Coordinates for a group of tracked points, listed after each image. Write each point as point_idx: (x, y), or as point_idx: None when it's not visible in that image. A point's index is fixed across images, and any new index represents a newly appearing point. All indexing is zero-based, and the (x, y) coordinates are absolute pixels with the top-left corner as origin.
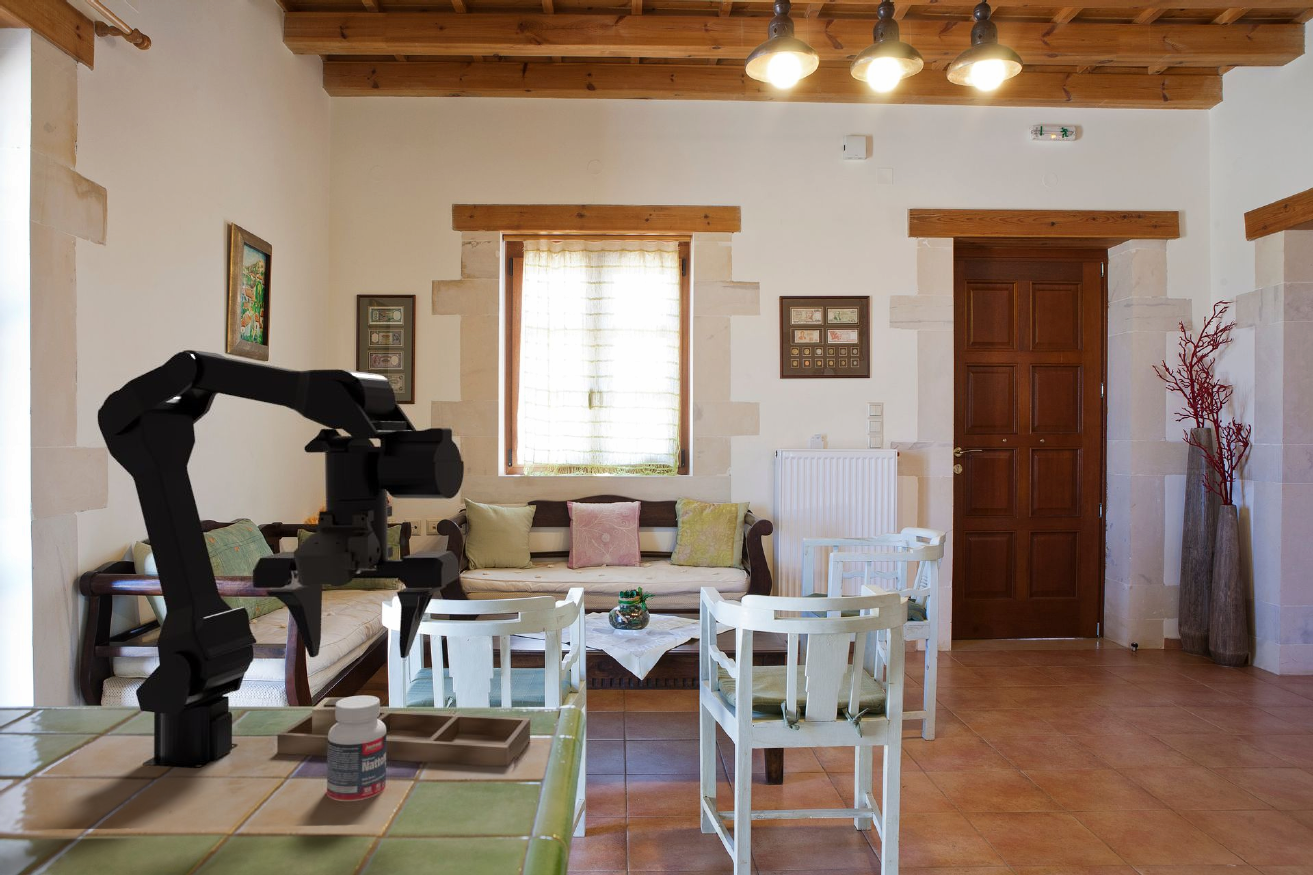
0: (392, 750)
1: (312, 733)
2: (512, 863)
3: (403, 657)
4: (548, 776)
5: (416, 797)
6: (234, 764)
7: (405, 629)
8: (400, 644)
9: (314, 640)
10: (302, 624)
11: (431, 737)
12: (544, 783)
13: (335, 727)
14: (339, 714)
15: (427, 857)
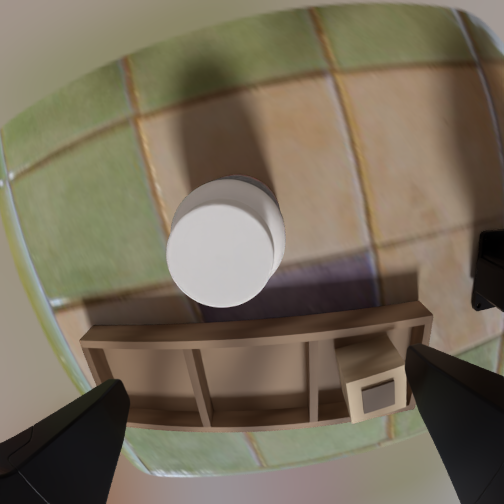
0: (244, 330)
1: (392, 344)
2: (6, 126)
3: (113, 379)
4: (52, 320)
5: (151, 230)
6: (457, 268)
7: (51, 421)
8: (98, 397)
9: (428, 382)
10: (491, 386)
11: (192, 360)
12: (46, 302)
13: (260, 211)
14: (240, 204)
15: (69, 98)
